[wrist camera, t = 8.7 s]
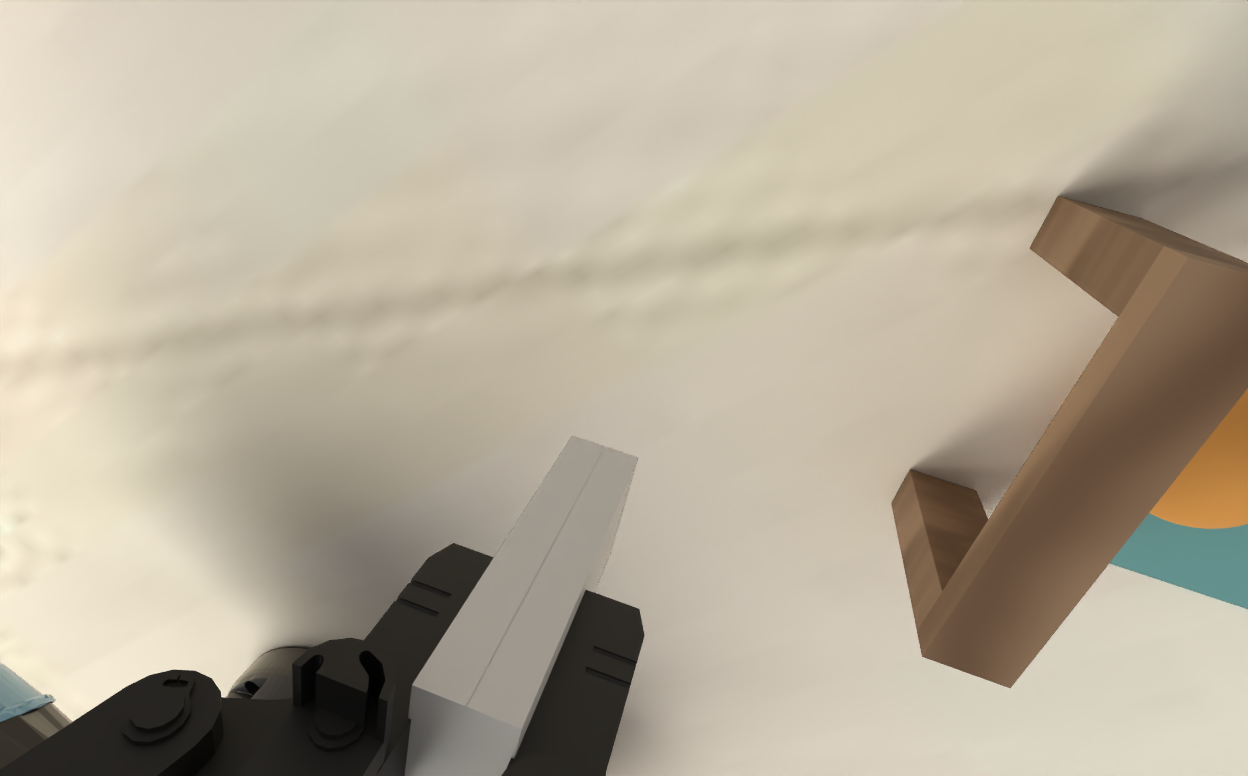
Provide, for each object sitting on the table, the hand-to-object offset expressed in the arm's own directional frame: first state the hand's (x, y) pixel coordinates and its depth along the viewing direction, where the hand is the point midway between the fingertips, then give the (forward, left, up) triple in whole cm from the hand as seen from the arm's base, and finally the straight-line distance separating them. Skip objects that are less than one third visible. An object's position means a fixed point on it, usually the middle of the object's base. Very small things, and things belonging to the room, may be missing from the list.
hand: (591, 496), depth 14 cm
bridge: (0, -13, -16) cm, 21 cm away
